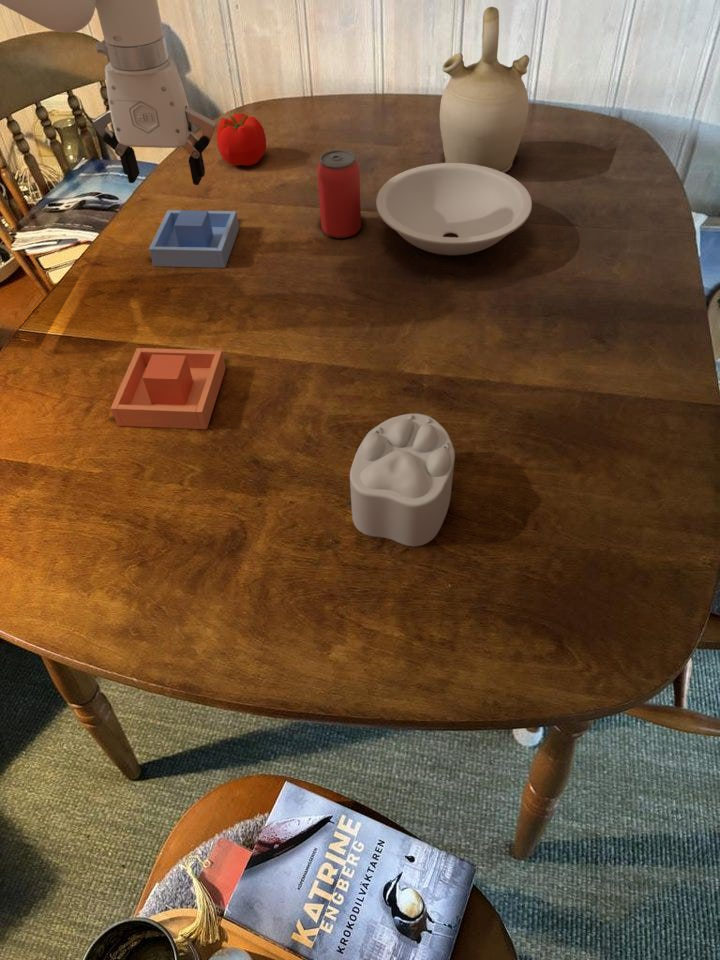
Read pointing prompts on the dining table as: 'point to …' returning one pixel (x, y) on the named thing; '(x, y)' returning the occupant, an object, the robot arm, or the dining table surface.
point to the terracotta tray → (139, 411)
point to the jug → (484, 105)
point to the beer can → (339, 193)
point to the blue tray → (215, 256)
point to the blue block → (193, 229)
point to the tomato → (241, 140)
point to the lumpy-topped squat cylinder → (403, 480)
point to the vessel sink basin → (453, 206)
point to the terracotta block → (168, 379)
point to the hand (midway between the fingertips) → (166, 179)
